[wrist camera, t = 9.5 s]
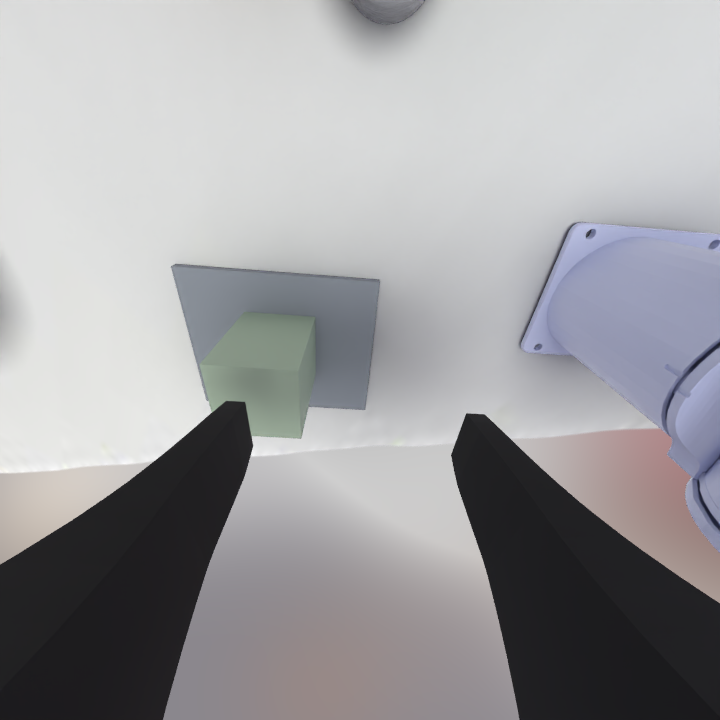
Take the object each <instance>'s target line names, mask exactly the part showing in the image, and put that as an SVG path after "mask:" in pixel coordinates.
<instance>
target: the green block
mask: <svg viewBox="0 0 720 720" xmlns="http://www.w3.org/2000/svg"><path fill="white" fill-rule="evenodd" d="M199 365H200V369H201V373H202V377H203V381H204V384H205V388H206V392H207V396H208V400H209V404H210V407H211V411H212V412H213V411H215V410H216V409H217V408H218V407H219V406H220V405H222V404H223V403H224V402H225V401H239V402H245V403H246V409H247V414H248V420H249V426H250V432H251V436H263V437H282V438H300V439H301V437H302V433H303V428H304V424H305V419H306V415H307V410H308V406H309V401H310V397H311V392H312V388H313V384H314V379H315V375H316V339H315V317H310V316H297V315H283V314H269V313H255V312H244V313H243V314H242V315H241V316H240V318H239V319H238V320H237V321H236V322H235V323H234V325H233V326H232V327H231V328H230V329H229V330H228V332H227V333H226V334H225V335H224V336H223V337H222V339H221V340H220V341H219V342H218V343H217V344H216V346H215V347H214V348H213V349H212V350H211V351H210V353H209V354H208V355H207V356H206V357H205V358H204V360H203V361H202V362H201V363H200V364H199Z"/></svg>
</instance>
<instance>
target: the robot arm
mask: <svg viewBox="0 0 720 720" xmlns="http://www.w3.org/2000/svg"><path fill="white" fill-rule="evenodd" d="M590 229H591V234H590V235H589V236H588V237H586V233H587V232H588V231H589V230H590ZM711 242H712V244H711V245H710V243H711ZM709 245H710V246H709ZM537 344H539V345H538V346H537V347H535V345H537ZM521 348H522V349H523V350H524V351H525V352H527V353H541V354H556V355H571V356H574V357H575V358H577V359H578V360H579V361H580V362H581V363H583V364H584V365H585V366H586V367H587V368H589V369H590V370H591V371H592V372H593V373H595V374H596V375H597V376H598V377H599V378H601V379H602V380H603V381H604V382H605V383H607V384H608V385H609V386H610V387H611V388H613V389H614V390H615V391H616V392H617V393H619V394H620V395H621V396H622V397H623V398H625V399H626V400H627V401H628V402H629V403H631V404H632V405H633V406H634V407H635V408H636V409H638V410H639V411H640V412H641V413H642V414H644V415H645V416H646V417H647V418H648V419H650V420H651V421H652V422H653V423H654V424H656V425H657V426H658V427H659V428H660V429H662V430H663V431H664V432H665V433H666V434H668V435H669V436H670V437H671V438H672V446H671V448H670V450H669V452H668V453H667V455H668V456H669V457H670V458H671V459H673V460H674V461H675V462H676V463H677V464H678V465H679V466H680V467H681V468H682V469H684V470H685V471H686V472H687V473H688V474H689V475H690V476H691V478H690V480H689V482H688V483H687V485H686V492H685V498H686V503H687V507H688V509H689V511H690V513H691V516H692V518H693V519H694V521H695V522H696V524H697V526H698V527H699V529H700V530H701V532H702V533H703V534H704V535H705V537H706V538H707V539H708V540H709V541H710V543H711V544H712V545H713V546H714V547H715V548H716V550H718V552H719V553H720V234H712V233H700V232H689V231H677V230H666V229H654V228H643V227H632V226H620V225H609V224H597V223H586V222H580V223H577V224H575V225H574V226H573V227H572V228H571V229H570V231H569V233H568V235H567V237H566V240H565V242H564V244H563V247H562V249H561V251H560V254H559V256H558V258H557V261H556V263H555V265H554V268H553V270H552V272H551V275H550V277H549V279H548V282H547V284H546V286H545V289H544V291H543V293H542V296H541V298H540V300H539V303H538V305H537V308H536V310H535V312H534V315H533V317H532V319H531V322H530V324H529V326H528V329H527V331H526V333H525V336H524V338H523V340H522V343H521ZM252 448H253V443H252V437H251V432H250V426H249V420H248V414H247V409H246V403H245V402H239V401H225V402H224V403H223V404H222V405H220V406H219V407H218V408H217V409H216V410H215V411H213V412H212V413H211V414H210V415H209V416H208V417H206V418H205V419H204V420H203V421H202V422H201V423H200V424H198V425H197V426H196V427H195V428H194V429H193V430H192V431H190V432H189V433H188V434H187V435H186V436H185V437H183V438H182V439H181V440H180V441H179V442H177V443H176V444H175V445H174V446H173V447H171V448H170V449H169V450H168V451H167V452H165V453H164V454H163V455H162V456H160V457H159V458H158V459H157V460H155V461H154V462H153V463H152V464H150V465H149V466H148V467H146V468H145V469H144V470H143V471H142V472H140V473H139V474H137V475H136V476H135V477H134V478H132V479H131V480H130V481H128V482H127V483H126V484H124V485H123V486H121V487H120V488H119V489H117V490H116V491H114V492H113V493H112V494H110V495H109V496H107V497H106V498H105V499H103V500H102V501H100V502H99V503H97V504H96V505H94V506H93V507H91V508H90V509H88V510H87V511H85V512H84V513H83V514H81V515H79V516H78V517H77V518H75V519H73V520H72V521H70V522H69V523H67V524H66V525H64V526H62V527H61V528H59V529H57V530H56V531H54V532H53V533H51V534H50V535H48V536H46V537H45V538H43V539H41V540H40V541H39V542H37V543H35V544H34V545H32V546H30V547H29V548H27V549H26V550H24V551H22V552H21V553H19V554H18V555H16V556H14V557H12V558H11V559H9V560H7V561H6V562H4V563H2V564H1V565H0V720H163V717H164V713H165V709H166V705H167V701H168V698H169V695H170V691H171V688H172V684H173V681H174V677H175V673H176V670H177V666H178V663H179V659H180V656H181V652H182V649H183V645H184V642H185V639H186V635H187V632H188V629H189V625H190V622H191V619H192V615H193V612H194V609H195V605H196V602H197V599H198V596H199V593H200V590H201V587H202V583H203V580H204V577H205V574H206V571H207V568H208V565H209V562H210V560H211V557H212V554H213V551H214V549H215V546H216V544H217V542H218V539H219V537H220V535H221V532H222V530H223V527H224V525H225V523H226V520H227V518H228V515H229V513H230V510H231V508H232V506H233V503H234V501H235V498H236V496H237V494H238V491H239V489H240V486H241V484H242V481H243V479H244V476H245V473H246V470H247V466H248V463H249V459H250V455H251V452H252ZM451 456H452V462H453V466H454V472H455V476H456V480H457V485H458V488H459V491H460V494H461V497H462V500H463V503H464V506H465V509H466V512H467V515H468V518H469V521H470V524H471V526H472V529H473V532H474V535H475V538H476V540H477V544H478V547H479V550H480V552H481V555H482V558H483V561H484V565H485V568H486V571H487V575H488V579H489V583H490V587H491V591H492V595H493V599H494V603H495V607H496V611H497V615H498V619H499V623H500V628H501V632H502V636H503V641H504V645H505V650H506V654H507V659H508V663H509V669H510V673H511V678H512V683H513V688H514V693H515V698H516V703H517V708H518V713H519V718H520V720H720V603H718V602H717V601H715V600H714V599H712V598H710V597H709V596H708V595H706V594H705V593H703V592H701V591H700V590H699V589H697V588H696V587H694V586H693V585H691V584H690V583H688V582H687V581H685V580H684V579H682V578H681V577H679V576H678V575H676V574H675V573H673V572H672V571H671V570H669V569H668V568H666V567H665V566H664V565H662V564H661V563H659V562H658V561H656V560H655V559H653V558H652V557H651V556H649V555H648V554H646V553H645V552H643V551H642V550H641V549H639V548H638V547H637V546H635V545H634V544H633V543H631V542H630V541H628V540H627V539H626V538H624V537H623V536H622V535H620V534H619V533H618V532H617V531H615V530H614V529H613V528H612V527H610V526H609V525H608V524H606V523H605V522H604V521H603V520H601V519H600V518H599V517H597V516H596V515H595V514H594V513H592V512H591V511H590V510H589V509H587V508H586V507H585V506H584V505H583V504H581V503H580V502H579V501H578V500H576V499H575V498H574V497H573V496H572V495H571V494H570V493H568V492H567V491H566V490H565V489H564V488H563V487H561V486H560V485H559V484H558V483H557V482H556V481H555V480H553V479H552V478H551V477H550V476H549V475H548V474H547V473H546V472H545V471H543V470H542V469H541V468H540V467H539V466H538V465H537V464H536V463H535V462H534V461H533V460H532V459H530V457H528V456H527V455H526V454H525V453H524V452H523V451H522V450H521V449H520V448H519V447H518V446H517V445H516V444H515V443H514V442H513V441H512V440H511V439H510V438H509V437H508V436H507V435H506V434H505V433H504V432H503V431H502V430H500V429H499V428H498V427H497V426H496V425H495V424H494V423H493V422H492V421H491V420H490V419H489V418H488V417H487V416H486V415H484V414H466V416H465V419H464V421H463V424H462V427H461V430H460V432H459V435H458V438H457V441H456V443H455V446H454V449H453V452H452V455H451Z"/></svg>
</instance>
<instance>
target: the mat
mask: <svg viewBox="0 0 720 720" xmlns="http://www.w3.org/2000/svg"><path fill="white" fill-rule="evenodd" d="M171 268H172V272H173V276H174V280H175V283H176V287H177V291H178V295H179V298H180V302H181V306H182V310H183V313H184V317H185V321H186V325H187V328H188V332H189V336H190V340H191V343H192V347H193V351H194V355H195V358H196V362H197V366H198V370H199V373H200V377H201V381H202V385H203V388H204V392H205V396H206V400H207V401H209V400H208V396H207V392H206V388H205V384H204V381H203V377H202V373H201V369H200V365H199V364H200V363H201V362H202V361H203V360H204V358H205V357H206V356H207V355H208V354H209V353H210V351H211V350H212V349H213V348H214V347H215V346H216V344H217V343H218V342H219V341H220V340H221V339H222V337H223V336H224V335H225V334H226V333H227V332H228V330H229V329H230V328H231V327H232V326H233V325H234V323H235V322H236V321H237V320H238V319H239V318H240V316H241V315H242V314H243V313H244V312H255V313H269V314H283V315H297V316H310V317H315V339H316V375H315V379H314V384H313V388H312V392H311V397H310V401H309V406H308V407H323V408H341V409H358V410H365V407H366V398H367V389H368V381H369V372H370V363H371V355H372V346H373V337H374V329H375V320H376V311H377V302H378V294H379V285H380V281H379V280H377V279H364V278H351V277H338V276H325V275H311V274H298V273H285V272H272V271H259V270H246V269H233V268H220V267H207V266H194V265H181V264H175V265H173V266H171Z"/></svg>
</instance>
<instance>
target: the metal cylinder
mask: <svg viewBox="0 0 720 720" xmlns="http://www.w3.org/2000/svg"><path fill="white" fill-rule="evenodd" d="M351 1H352V2H353V4H354V5H355V6H356V8H357V9H358V10H359V11H360V12H361V13H362V14H363V15H364V16H366V17H367V18H368V19H370V20H372V21H374V22H377V23H380V24H394V23H398V22H401V21H403V20H405V19H406V18H408V17H409V16H411V15H412V14H413V13H414V12H416V11H417V10H418V8H419V7H420V6H421V5H422V4H423V2H424V1H425V0H351Z"/></svg>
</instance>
